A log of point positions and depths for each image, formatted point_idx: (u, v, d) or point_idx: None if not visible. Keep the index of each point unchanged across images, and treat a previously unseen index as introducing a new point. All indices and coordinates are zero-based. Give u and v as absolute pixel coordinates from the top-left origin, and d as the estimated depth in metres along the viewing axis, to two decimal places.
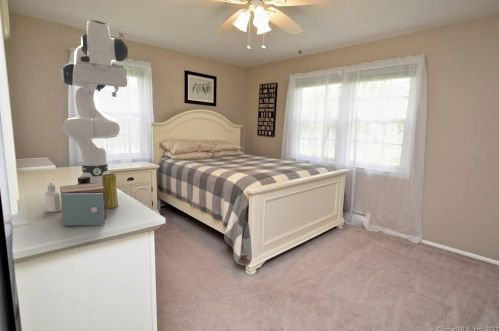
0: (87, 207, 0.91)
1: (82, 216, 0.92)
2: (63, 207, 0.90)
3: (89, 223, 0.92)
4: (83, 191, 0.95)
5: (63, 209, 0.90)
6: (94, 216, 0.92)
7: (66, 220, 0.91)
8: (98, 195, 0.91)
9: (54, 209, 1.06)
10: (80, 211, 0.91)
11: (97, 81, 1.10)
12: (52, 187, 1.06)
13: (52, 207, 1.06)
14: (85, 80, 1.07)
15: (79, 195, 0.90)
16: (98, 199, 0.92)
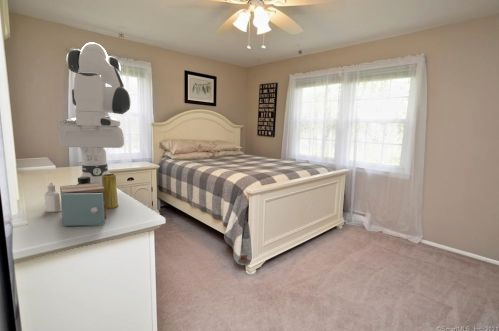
0: (87, 207, 0.91)
1: (82, 216, 0.92)
2: (63, 207, 0.90)
3: (89, 223, 0.92)
4: (83, 191, 0.95)
5: (63, 209, 0.90)
6: (94, 216, 0.92)
7: (66, 220, 0.91)
8: (98, 195, 0.91)
9: (54, 209, 1.06)
10: (80, 211, 0.91)
11: None
12: (52, 187, 1.06)
13: (52, 207, 1.06)
14: None
15: (79, 195, 0.90)
16: (98, 199, 0.92)
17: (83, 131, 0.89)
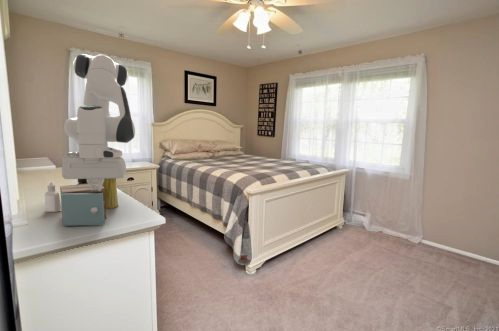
0: (87, 207, 0.91)
1: (82, 216, 0.92)
2: (63, 207, 0.90)
3: (89, 223, 0.92)
4: (83, 191, 0.95)
5: (63, 209, 0.90)
6: (94, 216, 0.92)
7: (66, 220, 0.91)
8: (98, 195, 0.91)
9: (54, 209, 1.06)
10: (80, 211, 0.91)
11: None
12: (52, 187, 1.06)
13: (52, 207, 1.06)
14: None
15: (79, 195, 0.90)
16: (98, 199, 0.92)
17: (86, 163, 0.91)
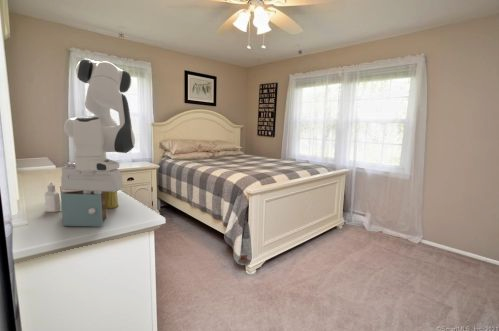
0: (85, 208, 0.90)
1: (81, 217, 0.91)
2: (63, 207, 0.90)
3: (87, 224, 0.91)
4: None
5: (63, 209, 0.90)
6: (92, 217, 0.91)
7: (66, 220, 0.91)
8: (96, 196, 0.90)
9: (54, 209, 1.06)
10: (79, 212, 0.91)
11: None
12: (52, 187, 1.06)
13: (52, 207, 1.06)
14: None
15: (78, 196, 0.90)
16: (96, 200, 0.90)
17: (82, 175, 0.90)
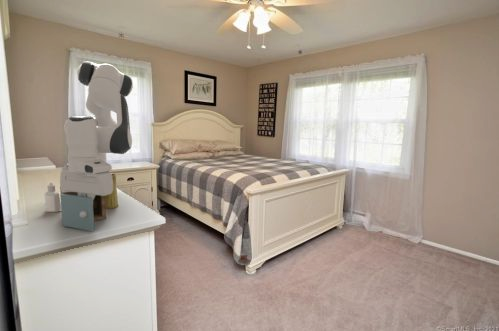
0: (79, 210, 0.88)
1: (76, 219, 0.89)
2: (62, 207, 0.90)
3: (80, 227, 0.89)
4: None
5: (62, 209, 0.90)
6: (84, 221, 0.88)
7: (64, 220, 0.91)
8: (87, 199, 0.86)
9: (54, 210, 1.06)
10: (74, 213, 0.89)
11: None
12: (52, 187, 1.06)
13: (52, 207, 1.06)
14: None
15: (73, 197, 0.88)
16: (87, 203, 0.86)
17: (76, 176, 0.87)
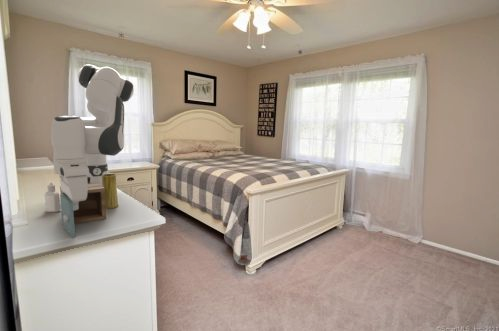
0: (66, 213, 0.85)
1: (65, 222, 0.86)
2: (61, 207, 0.90)
3: (67, 230, 0.85)
4: None
5: (61, 209, 0.90)
6: (68, 225, 0.84)
7: (62, 221, 0.90)
8: (68, 203, 0.81)
9: (54, 209, 1.06)
10: None
11: None
12: (52, 187, 1.06)
13: (52, 207, 1.06)
14: None
15: (63, 199, 0.86)
16: (68, 207, 0.82)
17: None
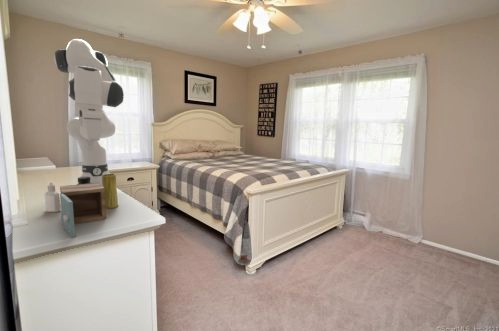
0: (66, 213, 0.85)
1: (65, 222, 0.86)
2: (61, 207, 0.90)
3: (67, 230, 0.85)
4: (83, 191, 0.95)
5: (61, 209, 0.90)
6: (68, 225, 0.84)
7: (62, 221, 0.90)
8: (68, 203, 0.81)
9: (54, 210, 1.06)
10: None
11: None
12: (52, 187, 1.06)
13: (52, 207, 1.06)
14: None
15: (63, 199, 0.86)
16: (68, 207, 0.82)
17: (83, 122, 0.97)
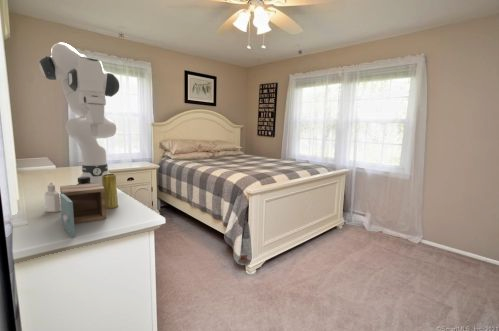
0: (66, 213, 0.85)
1: (65, 222, 0.86)
2: (61, 207, 0.90)
3: (67, 230, 0.85)
4: (83, 191, 0.95)
5: (61, 209, 0.90)
6: (68, 225, 0.84)
7: (62, 221, 0.90)
8: (68, 203, 0.81)
9: (54, 209, 1.06)
10: None
11: None
12: (52, 187, 1.06)
13: (52, 207, 1.06)
14: None
15: (63, 199, 0.86)
16: (68, 207, 0.82)
17: (87, 110, 1.04)
